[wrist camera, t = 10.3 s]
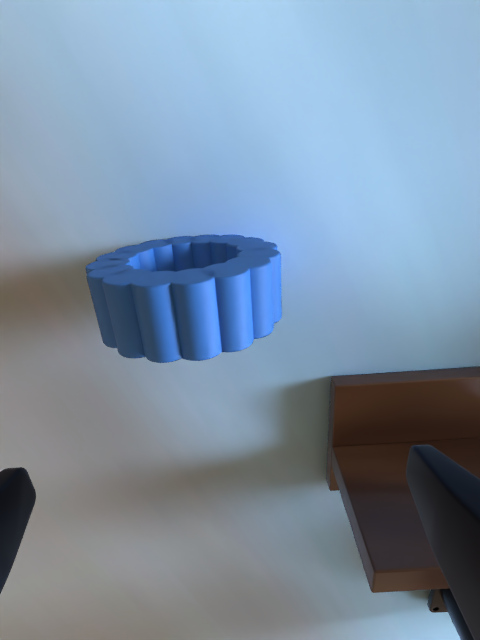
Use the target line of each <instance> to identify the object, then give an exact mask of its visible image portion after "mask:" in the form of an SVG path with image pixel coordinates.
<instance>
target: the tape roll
mask: <svg viewBox="0 0 480 640" xmlns="http://www.w3.org/2000/svg"><path fill="white" fill-rule="evenodd" d="M85 269H86V273H87V281H88V285H89V288H90V292H91V296H92V300H93V304H94V308H95V312H96V316H97V320H98V324H99V328H100V331H101V335H102V339H103V343H104V344H105V345H106V346H108V347H111V348H118V352H119V354H120V355H122V356H123V357H126V358H142V357H146V358H147V359H148V360H150V361H152V362H157V363H167V362H173V361H176V360H179V359H182V358H183V359H186V360H192V361H200V360H206V359H210V358H213V357H215V356H217V355H219V354H220V353H221V352H236V351H240V350H243V349H245V348H247V347H249V346H250V345H251V344H252V343H253V340H254V339H258V338H262V337H265V336H267V335H269V334H270V333H271V332H272V331H273V328H274V323H276V322H278V321H279V320H280V319H281V317H282V307H281V254H280V252H279V251H278V250H277V245H276V244H274V243H271V242H264V240H263V239H260V238H253V237H247V238H245V237H244V236H241V235H223V236H219V235H200V236H195V237H192V236H182V237H174V238H170V239H167V240H153V241H147V242H144V243H141V244H139V245H132V246H126V247H122V248H119V249H117V250H116V251H115V252H111V253H107V254H104V255H101V256H99V257H97V258H96V261H95V262H93V263H90V264H88V265H87V266H86V268H85Z"/></svg>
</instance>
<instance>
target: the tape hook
mask: <svg viewBox="0 0 480 640" xmlns="http://www.w3.org/2000/svg"><path fill="white" fill-rule="evenodd" d="M413 445H431V446H433V447H434V448H436V449H437V450H439V451H440V452H442V453H443V454H445V455H446V456H447V457H449V458H450V459H452V460H453V461H455V462H456V463H458V464H459V465H460V466H462V467H463V468H465V469H466V470H468V471H469V472H470V473H472V474H473V475H475V476H476V477H478V478H479V479H480V367H469V368H453V369H438V370H423V371H407V372H392V373H376V374H361V375H346V376H332V377H331V388H330V409H329V431H328V452H327V474H326V479H327V483H328V486H329V489H330V491H333V490H339V491H340V494H341V497H342V500H343V503H344V507H345V510H346V513H347V516H348V519H349V522H350V526H351V529H352V532H353V535H354V538H355V541H356V545H357V548H358V551H359V554H360V557H361V561H362V564H363V567H364V570H365V573H366V576H367V580H368V583H369V586H370V589H371V591H372V592H373V593H377V592H394V591H412V590H430V589H447V588H449V586H448V583H447V581H446V579H445V577H444V575H443V573H442V571H441V569H440V567H439V564H438V562H437V560H436V558H435V556H434V553H433V551H432V548H431V546H430V543H429V541H428V538H427V535H426V532H425V530H424V527H423V524H422V521H421V519H420V516H419V513H418V510H417V507H416V505H415V502H414V499H413V496H412V494H411V491H410V488H409V485H408V482H407V478H406V467H407V461H408V456H409V450H410V448H411V446H413Z"/></svg>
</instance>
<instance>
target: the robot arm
mask: <svg viewBox="0 0 480 640" xmlns="http://www.w3.org/2000/svg"><path fill="white" fill-rule="evenodd" d="M406 478H407V482H408V485H409V488H410V491H411V494H412V496H413V499H414V502H415V505H416V507H417V510H418V513H419V516H420V519H421V521H422V524H423V527H424V530H425V532H426V535H427V538H428V541H429V543H430V546H431V548H432V551H433V553H434V556H435V558H436V560H437V562H438V564H439V567H440V569H441V571H442V573H443V575H444V577H445V579H446V581H447V583H448V586H449V588H447V589H431V592H430V596H429V600H428V603H427V605H428V607H429V610H430V611H431V612H448V613H449V615H450V617H451V619H452V622H453V624H454V626H455V628H456V630H457V632H458V634H459V636H460V639H461V640H480V479H479V478H478V477H476V476H475V475H473V474H472V473H470V472H469V471H468V470H466V469H465V468H463V467H462V466H460V465H459V464H458V463H456V462H455V461H453V460H452V459H450V458H449V457H447V456H446V455H445V454H443V453H442V452H440V451H439V450H437V449H436V448H434V447H433V446H431V445H413V446H411V448H410V450H409V456H408V461H407V467H406ZM35 500H36V492H35V489H34V487H33V484H32V482H31V479H30V477H29V475H28V472H27V470H26V469H24V468H22V467H20V468H7V469H4V470H2V471H1V472H0V593H1V591H2V589H3V587H4V584H5V582H6V580H7V578H8V575H9V573H10V570H11V568H12V565H13V563H14V560H15V557H16V555H17V552H18V549H19V546H20V543H21V540H22V538H23V535H24V532H25V529H26V526H27V524H28V521H29V518H30V515H31V512H32V510H33V507H34V504H35Z"/></svg>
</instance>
